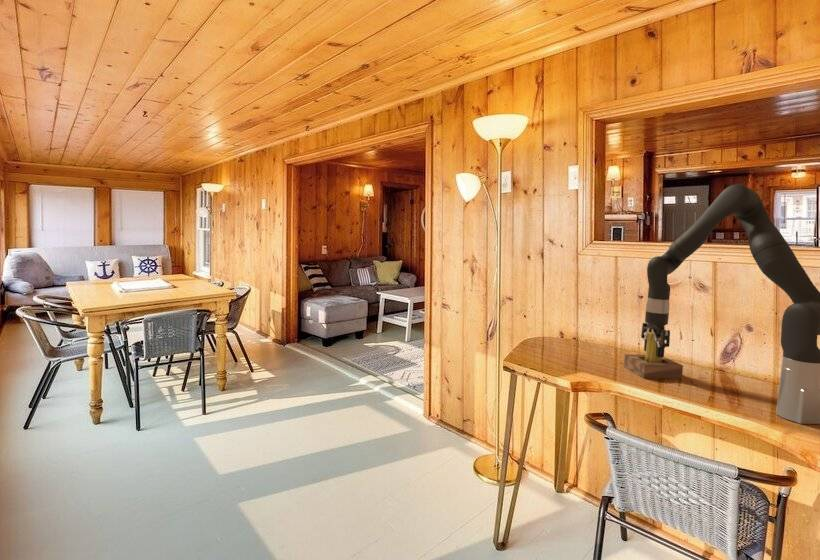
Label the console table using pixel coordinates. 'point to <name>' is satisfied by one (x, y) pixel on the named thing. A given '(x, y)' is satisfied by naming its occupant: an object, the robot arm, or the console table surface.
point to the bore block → (653, 367)
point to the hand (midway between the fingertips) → (653, 354)
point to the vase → (652, 349)
